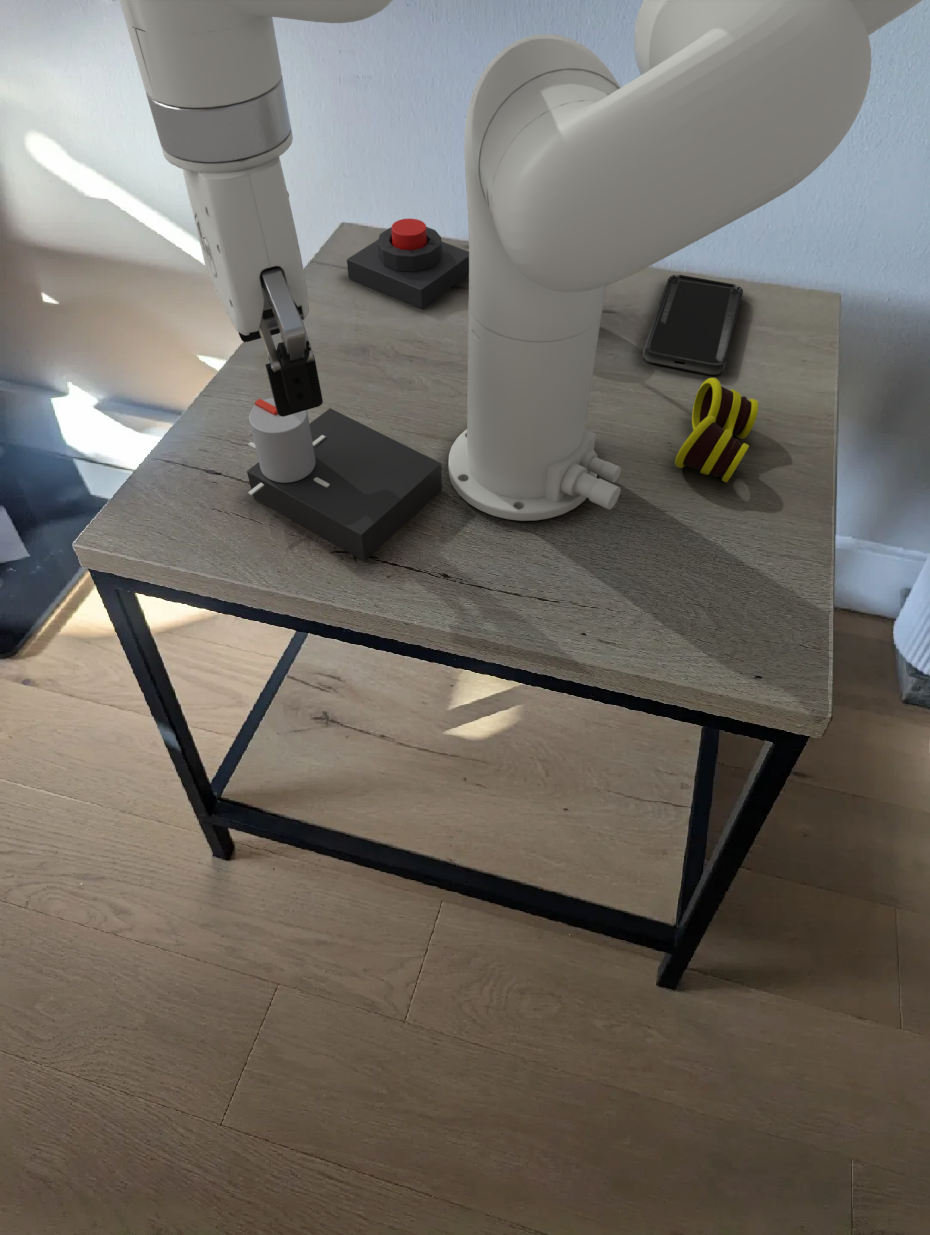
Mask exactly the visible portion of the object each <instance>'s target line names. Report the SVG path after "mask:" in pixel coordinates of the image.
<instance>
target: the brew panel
mask: <svg viewBox="0 0 930 1235" xmlns="http://www.w3.org/2000/svg"><path fill="white" fill-rule="evenodd" d="M309 424H310V430H311V436H312V442H313V448H314V454H315V460H316V463H315V467H314V469H313V471H312V472H311V473H310V474H309V475H308V476H306V477H305V478H303V479H301V480H298V481H295V482H289V483H281V482H275V481H272V480H270V479H268V478H267V477H266V476H264V474H263V473H262V471H261V469H260V464H259V461H258V462H256V463H255V464H254V465H253V466H251V467H250V468H249V469H247V470H246V474H247V477H248V482H249V486H250V490H249V491H248V492H247V494H248V495H250V496H252V497H253V499H254V500H255V501H258V502H259V503H261V504H262V505H265V506H266V507H268V508H269V509H271V510H273V511H275V512H276V513H278V514H280V515H282V516H284V517H285V518H287V519H289V520H291V521H292V522H294V523H296V524H297V525H300V526H301V527H302V528H304V529H306V530H308V531H310V532H311V533H314V534H315V535H317V536H319V537H320V538H322V539H324V540H326V541H327V542H329V543H331V544H333V545H334V546H336V547H338V548H340V549H341V550H343V551H345V552H347V553H349V554H351V555H352V556H353V557H355V558H357V559H359V560H361V561H363V562H364V563H365V562H367V561H368V559H370V558H371V557H372V556H373V555H374V554H375V553H376V552H377V551H379V549H380V548H382V547H383V546H384V545H385V544H386V543H387V542H388V541H389V540H391V538H392V537H394V536H395V535H396V534H397V533H398V532H399V531H400V530H401V529H402V528H403V527H404V526H406V525H407V524H408V523H409V522H410V521H411V520H412V519H413V518H414V517H415V516H416V515H418V514H419V513H420V512H421V511H422V510H423V509H424V508H425V507H426V506H427V505H428V504H430V503H431V501H433V500H434V499H435V498H436V497H437V496H438V495H439V494H440V493H442V492H443V463H442V462H440V461H438V460H436V459H434V458H432V457H430V456H428V455H426V454H423V453H422V452H420V451H418V450H415V449H414V448H411V447H409V446H408V445H406V444H403V443H401V442H400V441H397V440H395V439H394V438H391V437H389V436H387V435H385V434H383V433H382V432H379V431H377V430H375V429H373V428H371V427H369V426H367V425H365V424H363V423H361V422H359V421H357V420H355V419H354V418H351V417H349V416H347V415H345V414H343V413H341V412H339V411H337V410H334V409H333V408H331V407H329V408H328V409H327V410H325V411H324V412H323V413H321V414H320V415H319V416H317V417H316V418H315V419H314V420H312V421H311V422H309ZM247 445H248V446H249V447H250V448H252V449H254V450H256V447H255V443H254V442H253V441H250V442H248V443H247Z"/></svg>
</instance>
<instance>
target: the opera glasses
mask: <svg viewBox="0 0 930 1235" xmlns="http://www.w3.org/2000/svg"><path fill="white" fill-rule="evenodd" d="M741 395H742V394H741V393H740V392H738V391H737V390H735V389H728V388H726V387H724V386H722V384H721V382H720V380H719V379H717V378H715V377H709V378H707V379H705V380H704V381H703V382H702V383H701V385H700V387H699V388H698V390H697V392H696V395H695V399H694V403H693V405H692V406H693V407H692V414H691V426H692V432H691V433H690V434H689V435H688V437H687V438H686V440H685V441H684V442H683V444H682V446H681V447H680V448H679V450H678V452H677V454H676V456H675V460H674V465H675V466H676V467H677V468H679V469H683V468H684V467H688V468H692V469H695V470H698V471H699V473H700V474H702V475H706V476H709V475H710V474H712V475H713V477H714V478H716V477H720V478H721V481H722V482H724V483H728V482H729V480H730V479H731V477H732V475H733V474H734V472H735V470H736V469H737V468H738V466H739V464H740V462H741V461H742V459H743V457H744V456H745V454H746V453H747V451H748V449H749V448H750V445H749V444H747V443H745V442H744V443H742V444H741V443H740V441H739V439H741V440H744V439H746V438H747V437H748V436H749V434H750V432H751V431H752V429H753V428H754V425H755V423H756V420H757V416H758V412H759V401H758V400H757V399H754V398H750V399H748V398H747V396H744V395H743V396H741ZM734 435H735V437H736V438H735V437H734Z"/></svg>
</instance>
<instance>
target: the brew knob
mask: <svg viewBox="0 0 930 1235" xmlns="http://www.w3.org/2000/svg"><path fill="white" fill-rule="evenodd" d="M248 415H249V416H248V422H249V425H250V430H251V434H252V439H253V443H254V444H255V447H256V449H255V450H256V451H255V452H256V455H257V460H258V462H259V464H260V469H261V471H262V473H263V474H264V476H266V477H267V478H268V479H270V480H272V481H275V482H281V483H289V482H295V481H298V480H301V479H303V478H305V477H306V476H308V475H309V474H310V473H311V472H312V471H313V469H314V467H315V463H316V460H315V454H314V448H313V442H312V436H311V430H310V418H309V412H308V410H305V411H302V412H298V413H295V414H291V415H288V416H284V417H282V416H280V415H279V414H278V412H277V410H276V406H275V402H274V398H273V397H270V398H266V399H261V398H258V399H257V400H256V401H254V406H253V407H252V408H251V410H250V411H249V414H248Z"/></svg>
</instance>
